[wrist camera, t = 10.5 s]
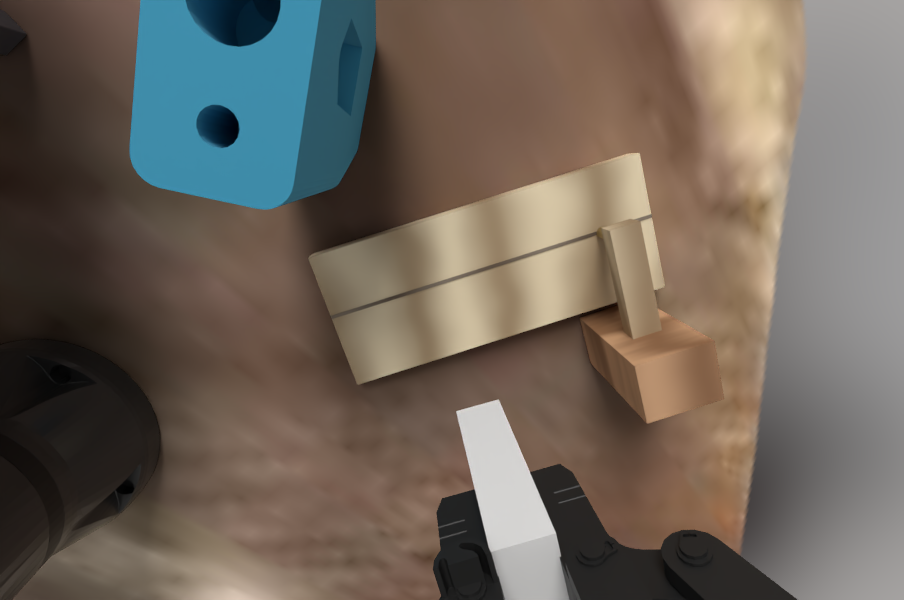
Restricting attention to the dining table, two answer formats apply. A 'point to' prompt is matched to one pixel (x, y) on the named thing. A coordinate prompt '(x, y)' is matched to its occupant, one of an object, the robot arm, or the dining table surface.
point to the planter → (9, 33)
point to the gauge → (647, 338)
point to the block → (250, 96)
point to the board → (482, 269)
